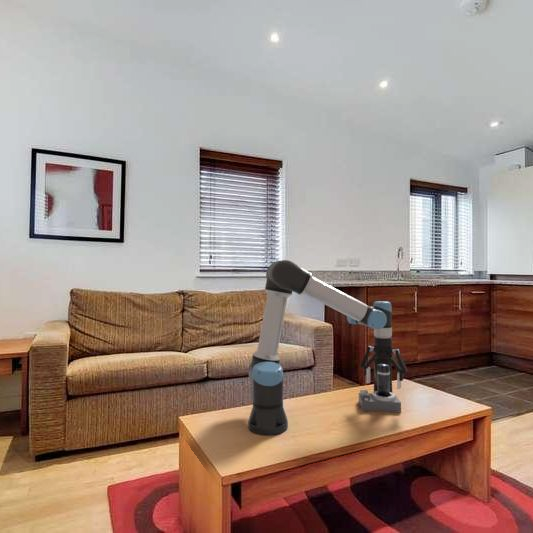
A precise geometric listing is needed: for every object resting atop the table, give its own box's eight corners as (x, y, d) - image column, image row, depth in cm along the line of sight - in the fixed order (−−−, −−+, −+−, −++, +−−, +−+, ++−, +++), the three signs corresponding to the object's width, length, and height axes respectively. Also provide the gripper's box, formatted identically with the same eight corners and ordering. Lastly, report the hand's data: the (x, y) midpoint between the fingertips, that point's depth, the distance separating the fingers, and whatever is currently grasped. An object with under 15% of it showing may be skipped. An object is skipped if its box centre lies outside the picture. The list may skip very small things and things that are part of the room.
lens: (387, 400, 160) (387, 367, 160) (375, 398, 163) (375, 365, 163) (391, 397, 164) (391, 364, 164) (380, 395, 167) (379, 363, 167)
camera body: (362, 410, 159) (362, 396, 159) (358, 401, 170) (358, 388, 170) (401, 412, 157) (400, 397, 157) (395, 403, 168) (394, 389, 168)
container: (370, 392, 184) (370, 351, 184) (388, 391, 185) (387, 350, 185) (377, 397, 175) (377, 355, 176) (396, 397, 176) (395, 354, 176)
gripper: (414, 338, 159) (415, 388, 159) (359, 333, 174) (359, 378, 174) (409, 341, 153) (410, 393, 153) (352, 335, 168) (353, 382, 168)
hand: (383, 385), depth 164 cm, fingers open, 13 cm apart
